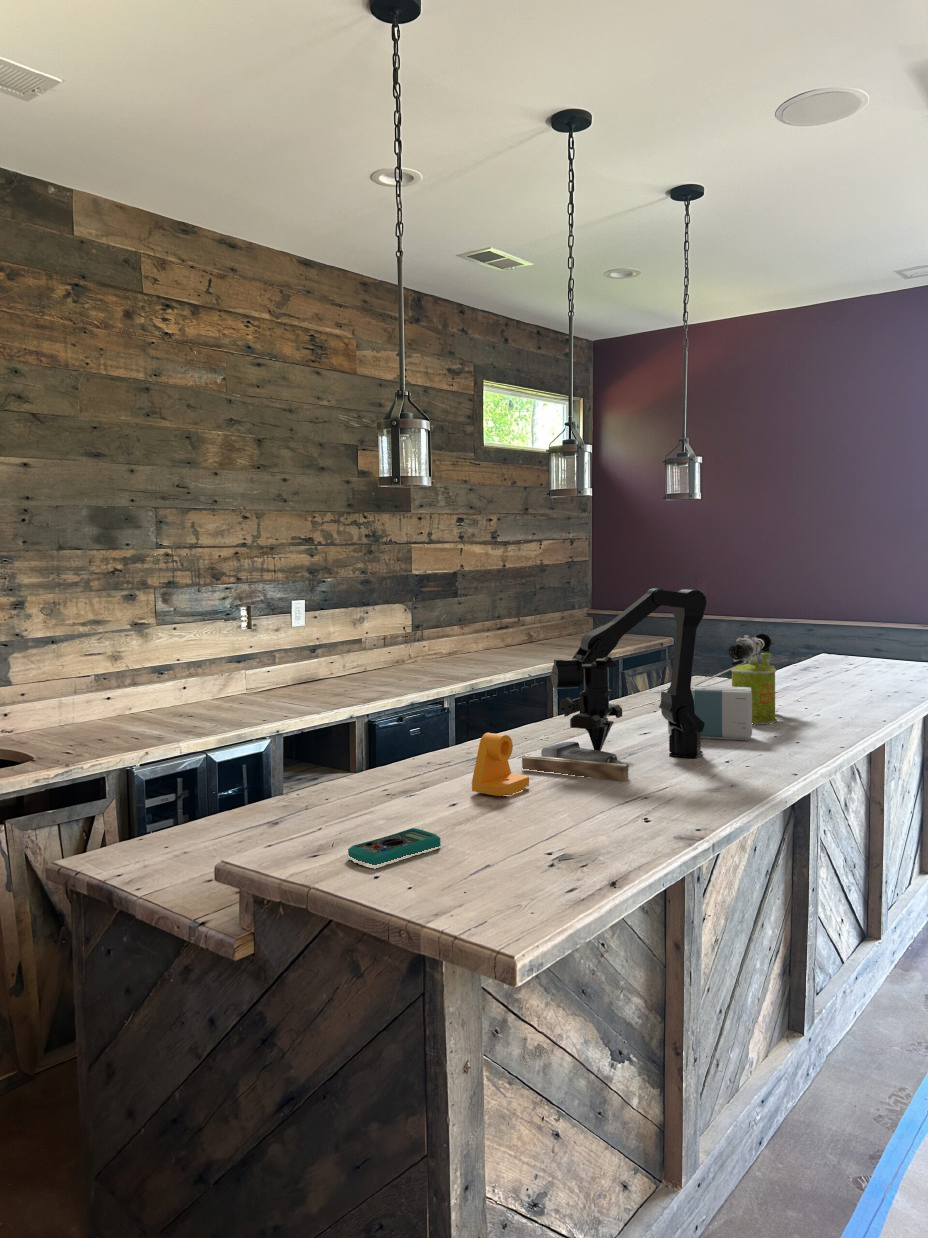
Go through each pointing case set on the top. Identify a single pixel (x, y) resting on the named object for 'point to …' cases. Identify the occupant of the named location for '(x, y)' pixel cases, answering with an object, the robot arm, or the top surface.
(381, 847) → the digital multimeter
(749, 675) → the blowtorch
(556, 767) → the beam
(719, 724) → the stereo radio cassette player
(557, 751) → the handheld device
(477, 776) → the bracket
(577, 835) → the top surface
